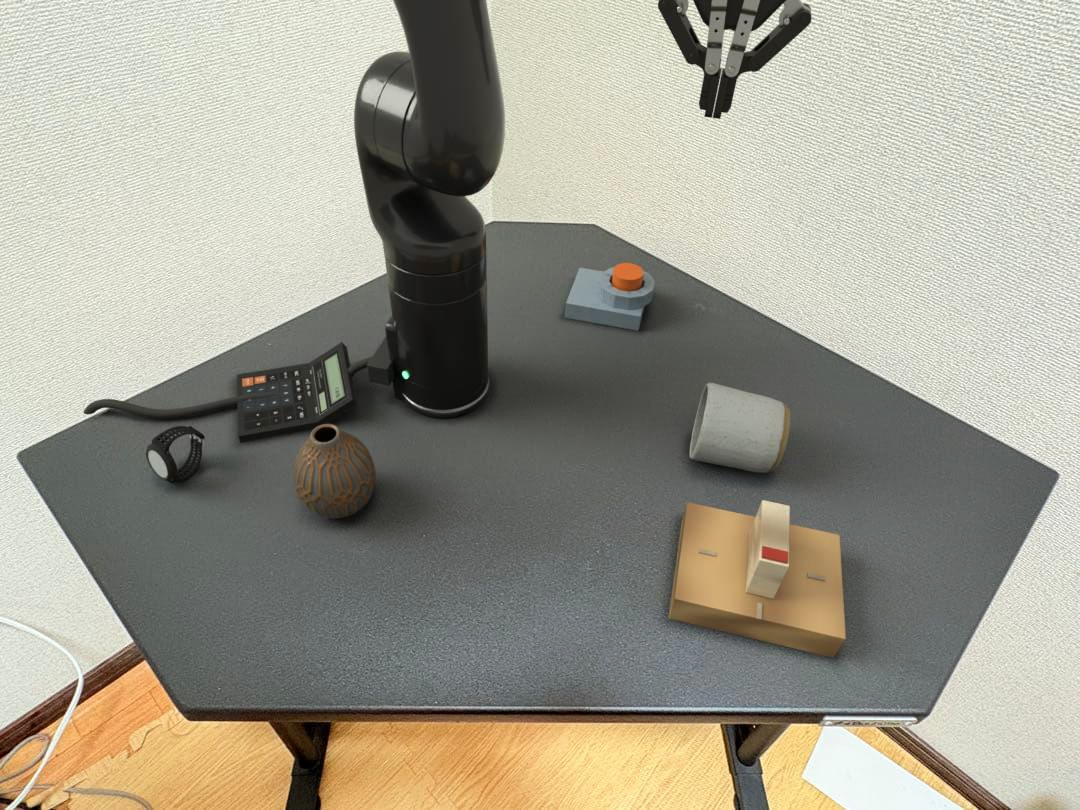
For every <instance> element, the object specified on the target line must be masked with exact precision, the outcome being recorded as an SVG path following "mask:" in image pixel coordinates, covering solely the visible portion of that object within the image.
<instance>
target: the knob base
mask: <svg viewBox="0 0 1080 810" xmlns="http://www.w3.org/2000/svg"><path fill="white" fill-rule="evenodd" d="M683 512H684V513H683V516H682V519H681V524H680V529H679V530H680V531H679V539H678V545H677V553H676V561H675V568H674V575H673V582H672V588H671V589H672V590H671V598H670V605H669V612H668V619H669V620H674V621H678V622H683V623H687V624H690V625H694V626H699V627H703V628H707V629H711V630H714V631H720V632H723V633H727V634H732V635H736V636H739V637H745V638H749V639H752V640H756V641H761V642H765V643H769V644H774V645H777V646H782V647H786V648H789V649H794V650H799V651H803V652H807V653H811V654H815V655H820V656H824V657H827V658H832V659H834V658H835V657H836V655H837V653H838V652H839V650H841V647H843V644H844V643H845V642H846V639H847V636H846V619H845V617H846V616H845V602H844V601H845V600H844V586H843V585H844V584H843V583H844V582H843V569H842V568H843V567H842V552H841V537H840V534H837V533H833V532H828V531H823V530H820V529H814V528H809V527H805V526H801V525H796V524H791V523H790V534H789V568H788V570H787V572H786V574H785V576H784V578H783V580H782V582H781V584H780V586H779V588H778V590H777V592H776V595H775V597H774V599H772V598H767V597H763V596H759V595H755V594H751V593H747V592H746V576H747V561H748V545H749V533H750V530H751V528H752V525H753V523H754V520H755V517H756V516H753V515H749V514H745V513H739V512H735V511H731V510H726V509H721V508H717V507H712V506H707V505H702V504H698V503H693V502H689V501H687V503H686V505H685V509H684V511H683Z"/></svg>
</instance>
